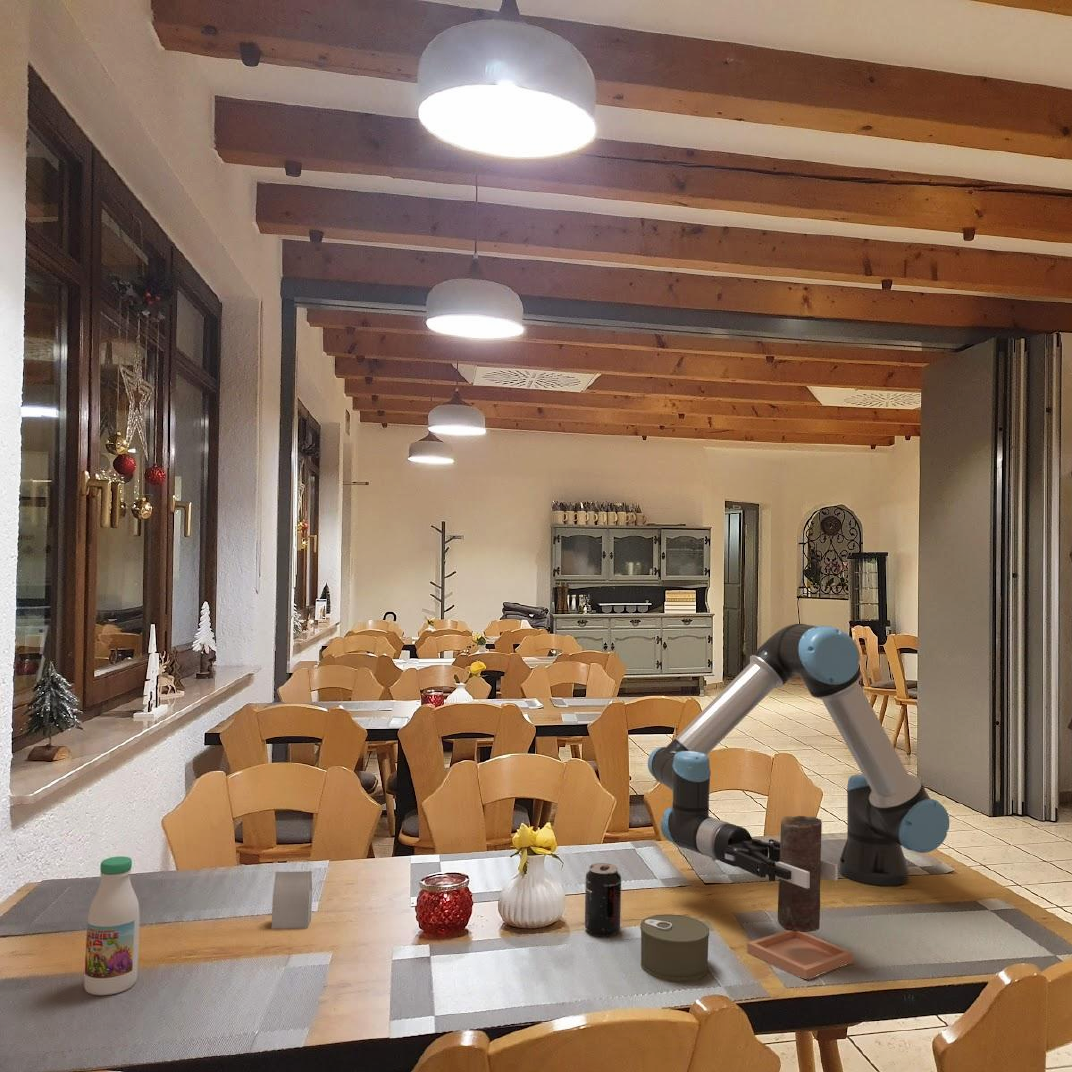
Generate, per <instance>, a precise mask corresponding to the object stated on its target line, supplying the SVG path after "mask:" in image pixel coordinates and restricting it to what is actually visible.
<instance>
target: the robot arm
mask: <svg viewBox="0 0 1072 1072" xmlns="http://www.w3.org/2000/svg"><path fill="white" fill-rule="evenodd" d="M859 650H860V649H859V647H858V645H857V643H856V642H855V640H854V639H853V638H852V637H851V636H850V635H849V634H848V633H846V632H845V631H843V630H841V629H838V628H836V627H832V626H829V625H812V624H805V623H794V624H790V625H787V626H784V627H783V628H781V629H779V630H777V631H776V632H775V633H774V634H773V635H772V636H770V637H769V638H768V639H766V640H765V641H764V642H763V643H762V645H760V646H759V647H758V648H757V649H756V650H755V651H754V652H753V654H751V655H750V656H749V664H748V665H747V666H746V667H745V668H744V669H742V670H741V672H739V674H738V675H736V676H735V678H734V679H733V680H732V681H731V682H730V683H729V684H728V685H727V686H726V687H725V688H724V689H723V690H722V691H721V692H720V693H719V694H718V695H716V697H714V699H713V700H711V702H710V703H709V704H708V705H707V706H706V707H704V708H703V710H701V712H700V713H699V714H698V715H697V716H696V717H695V718H694V719H693V720H692V721H691V722H690V723H689V724H688V725H687V726H686V727H685V728H684V729H682V731H681V732H680V733H679V734H678V735H677V736H676V737H675V738H674V739H672V740H671V742H669V744H668V745H666V746H660V747H657V748H655V749H654V750H652V752H651V753H650V754H649V756H648V759H647V769H648V771H649V773H650V774H651V776H652V777H654V779H655V780H656V781H657V782H659V783H660V784H662V785H664V786H666V787H667V788H668V789H670V790H671V791H672V805H671V806H670V807H668V808H666V810H665V811H664V812H663V815H662V816H663V817H662V819H661V820H660V831H661V833H662V836H663V837H664V838H665V839H666V840H667V841H669V842H670V843H673V844H674V845H676V846H678V847H680V848H683V849H687V850H689V851H692V852H695V853H698V854H701V855H703V856H706V857H709V858H711V860H712V861H713V862H715V861H719V862H722V863H723V864H725V865H726V864H727V865H730V866H731V867H735V868H739V869H742V870H744V871H746V872H748V873H750V874H752V875H755V876H757V877H758V878H762V879H764V878H766V876H768V881H769V882H776V878H777V879H779V878H780V879H782V880H785V881H788V882H790V883H793V884H796V885H798V886H801V887H804V888H806V889H807V888H810V872H808V871H805V870H802V869H800V868H797V867H794V866H791V865H788V864H785V863H783V862H780V842H779V841H777V840H776V839H773V838H771V839H768V842H765V841H762V840H761V839H757V838H753V837H752V836H751V834H750V831H748V829H746V828H744V827H742V826H739V825H736V824H732V823H729V822H728V821H725V820H721V819H718V818H715V817H712V816H710V815H709V814H710V787H711V786H710V785H711V784H710V782H711V781H710V780H711V775H712V774H711V763H710V761H711V760H710V757H709V753H711V752H712V751H713V750H714V749H715V748H716V747H717V746H718V745H719V744H720V743H721V742H722V741H723V740H724V739H725V738H726V736H727V735H729V734H730V733H731V732H732V731H733V730H734V729H735V728H736V727H737V726H738V725H739V724H740V723H741V722H742V721H743V720H744V719H745V718H746V717H747V715H749V714H750V713H751V712H752V711H753V710H754V709H755V708H756V707H757V705H758V704H760V702H762V700H763V699H764V698H766V696H767V695H768V694H770V693H771V692H772V691H773V689H774V688H782V687H783V686H784V685H785V684H786V683H787V682H788V681H790V680H791V679H793V678H796V677H800V678H801V679H802V682H803V683H804V684H805V686H806V689H807V690H808V692H809V695H811V697H812V698H815V699H818V700H821V701H822V703H823V705H824V707H825V708H826V710H827V712H828V713H829V715H830V717H831V719H832V721H833V723H834V724H835V726H836V728H837V729H838V732H839V733H840V736H841V737H842V739H843V740H844V742H845V745H846V746H847V748H848V750H849V752H850V754H851V756H852V757H853V759H854V761H855V763H856V764H857V766H858V769H859V770H860V772H861V773H859V774H853V775H851V776H850V777H849V778H848V779H847V780H848V781H847V787H846V793H847V794H846V795H847V796H846V798H847V799H846V800H847V802H846V803H847V806H846V807H847V808H846V809H847V811H846V812H847V821H846V823H847V833H846V834H847V835H846V836H847V837H846V841H845V844H844V847H843V849H842V852H841V855H840V858H839V862H838V863H839V865H838V864H837V863H834V862H831V861H828V860H824V859H822V858H821V867H820V872H821V873H820V877H822V878H826V879H829V880H831V881H834V882H836V881H838V876H839V874H838V872H839V873H840V872H841V873H840V874H841V875H842V874H843V875H842V876H844V877H846V878H847V879H850V880H853V881H856V882H859V883H864V884H868V885H872V886H873V885H874V886H875V885H876V886H885V887H886V886H900V885H905V884H906V883H908V882H909V881H910V880H909V876H910V875H909V867H908V864H907V861H906V858H905V855H904V852H903V848H905V849H906V850H909V851H914V853H915V852H916V853H920V854H921V853H923V854H925V853H926V854H927V853H929V852H932V851H935V850H937V848H939V847H940V846H941V845H942V844H943V843H944V841H945V839H946V838H947V836H948V833H947V832H948V831H949V830H950V817H949V813H948V810H947V809H946V808H945V806H944V805H942V804H941V803H940V802H939V801H938V800H937V799H933V798H931V797H930V795H929V794H928V792H927V791H926V789H925V787H924V786H923V783H922V781H921V780H920V778H919V777H917V776H916V775H912V774H909V773H908V770H907V769H906V768H905V765H904V764H903V762H902V760H901V757H900V756H899V755H898V753H897V750H896V749H895V746H894V745H893V743H892V742H891V740H890V738H889V736H888V734H887V732H886V730H885V729H884V726H883V725H882V723H881V722H880V720H879V718H878V716H877V714H876V711H874V709H873V706H872V704H871V703H870V702H869V699H868V698H867V696H866V693H865V692H864V690H863V688H862V686H861V685H860V681H861V678H862V671H861V670H860V668H859V667H860V664H859V661H860V660H861V656H860V651H859ZM902 847H903V848H902ZM838 869H839V870H838Z"/></svg>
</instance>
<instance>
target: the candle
mask: <svg viewBox="0 0 1072 1072" xmlns="http://www.w3.org/2000/svg"><path fill="white" fill-rule="evenodd" d="M822 825H823V821H822V819H821V818H818V817H817V816H811V815H808V816H805V815H797V816H792V815H788V816H784V817H782V818H781V821H780V862H783V863H785V864H788V865H791V866H794V867H797V868H800V869H802V870H805V871H808V872H810V888H807V889H806V888H804V887H801V886H798V885H796V884H793V883H790V882H788V881H785V880H782V879H780V878H778V896H777V922H778V924H779V925H780V926H781V927H782V928H783V930H784V931H785V930H790V931H795V932H796V931H799V932H805V933H809V932H817V931H818V930H820V920H821V876H820V873H821V872H820V867H821V859H822V835H823V833H822V831H823V829H822V827H823V826H822Z"/></svg>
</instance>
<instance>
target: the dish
mask: <svg viewBox="0 0 1072 1072" xmlns="http://www.w3.org/2000/svg"><path fill="white" fill-rule="evenodd" d="M746 948H747V954H749V955H751V956H752V957H753V956H754V957H756V958H758V959H759V960H762V961H764V962H766V963H768V964H770V965H773V966H774V967H776V968H779V969H781V970H783V971H785V972H787V973H789V972H791V973H792V975H793V974H795V975H797V976H796V977H798V976H800V977H801V978H800V977H799V978H800V979H802V978H804V979H809V978H811V977H814V976H816V975H818V974H821V973H823V972H827V971H830V972H832V971H831V970H833V969H835V968H837V967H840V966H842V965H845V964H849V965H851V964H853V963H854V952H852V951H850V950H848V949H845V948H843V947H841V946H838V945H836V944H833V943H831V942H829V941H826V940H824V939H822V938H819V937H817V936H815V935H812V934H810V933H808V932H799V931H796V932H795V931H790V930H785V929H784V930H783V931H782V930H781V931H779V932H777V933H774V934H770V935H768V936H764V937H761V938H758V939H755V940H752V941H749V942H747V947H746ZM850 963H851V964H850ZM833 971H834V970H833ZM791 973H790V974H791ZM795 975H794V976H795ZM804 979H803V980H804ZM809 980H810V979H809Z"/></svg>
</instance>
